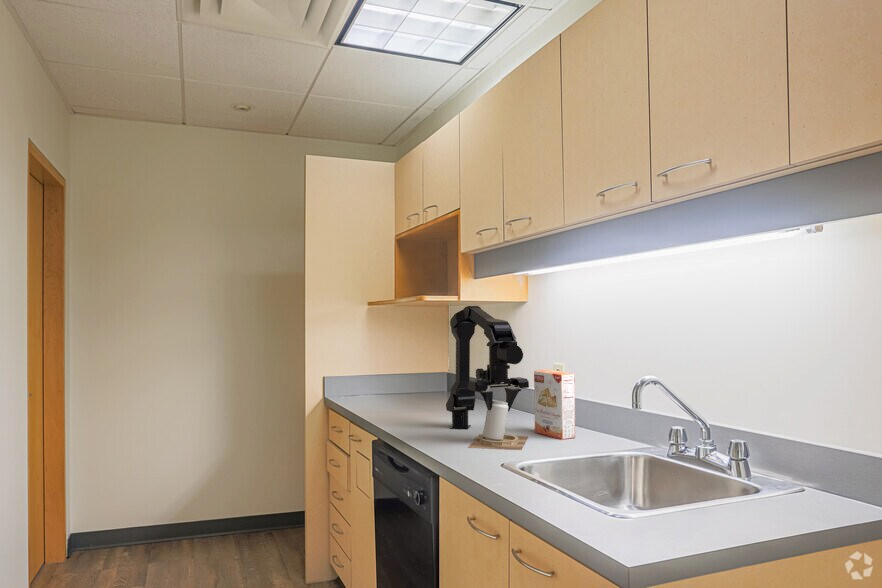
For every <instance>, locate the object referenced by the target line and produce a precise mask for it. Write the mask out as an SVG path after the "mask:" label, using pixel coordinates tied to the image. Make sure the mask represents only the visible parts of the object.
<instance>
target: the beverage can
mask: <svg viewBox="0 0 882 588" xmlns="http://www.w3.org/2000/svg"><path fill="white" fill-rule="evenodd" d="M508 408H509V407H508V403H507V402H506V401H503V400H499V399H498V400H497V399H493V400H492V408H491V410H490V411H489V410H488V409H487V408H486V409H487V410H486V413H485V414H486V415H485V421H484V425H483V430H482V431H483V432H482V434H483V436H484V437H485V439H487V440H491V441H501V440H503V437H504V434H505V430H506V424H507V418H508V413H509V412H508Z"/></svg>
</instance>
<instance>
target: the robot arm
mask: <svg viewBox="0 0 882 588" xmlns="http://www.w3.org/2000/svg"><path fill="white" fill-rule="evenodd" d="M449 325H450V331H451V334H452V335H453V337H454V339H455V381H454V383H453V384H452V386H451V388H450V395H449V396H448V399H447V401H446V403H445V410H446V411H447V412H450V413H451V426H450V427H449V429H450V430H469V429H470V428H471V427H472V426H471V424H469V411H474V410H475V405H476V392H477V393H479V394H480V395H481V396H482V399H483V401H484V403H485V406H486V409H488V410H489V411H490V410H491V408H492V400H494V398H493V397H494V391H493V390H492V391H491V389H492V388H504V390H505V393H506V394H505V397H506V398H505V399H506V400H505V402H507V403H508V407H509V408H508V413H509V412H510V410H511V408H512V406H513V404H514V401H515V399H516V398H517V396H518V394H519V392H522V389H529V388H530V381H529V380H528V378H525V377H520V376H519V377H510V378H509V371H508V370H510V369H511V367H510V366H511V365H518V364H520V363H521V362H522V360H523V359H524V352H523V349H522V348H521V347H520V346H519V345H518V341H517V340H516V339H517V337H516V336H515V333H514V331H513V329H512V327H511V324H510V322H508V321H507V320H504V319H499V318H494V317H493V316H492V315H490V314H489V313H487V312H486V311H485V310H484V309H482V307H481V306H479V305H467V306H465V307H463V309H462V310H460V311H458V312H456V313H454V314H453V316H452V317H451V318H450V321H449ZM477 325H478V326H479V327H480V328H481V329H483V334H484V336H485V337H486V338H487V340H488V342H487V343H486V347H488V358H489V359H488V360H489V361H488V362H489V363H488V364H487V365H486V369H484V368H476V369H475V378H476V379H475V380H474V379H473V380H470V379H471V377H470V376H471V374H470V372H471V370H470V369H471V367H470V363H471V362H470V361H471V339H472V338H473V336H474V334H475V333H476V327H477ZM510 364H511V365H510Z"/></svg>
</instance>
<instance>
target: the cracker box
mask: <svg viewBox="0 0 882 588" xmlns="http://www.w3.org/2000/svg"><path fill="white" fill-rule="evenodd" d="M575 381H576V380H575V373H573V372H565V371H559V370H553V369H536V370H534V371H533V387H534V388H533V389H534V390H533V391H534V393H533V394H534V433H536V434H540V435H544V436H547V437H551V438H554V439H558V440H561V441H563V440H570V439H575V438H576V399H575V398H576V396H575V395H576V394H575V393H576V392H575V390H576V388H575V387H576V386H575V385H576V384H575Z"/></svg>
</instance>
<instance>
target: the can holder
mask: <svg viewBox="0 0 882 588" xmlns="http://www.w3.org/2000/svg"><path fill="white" fill-rule="evenodd" d="M528 439H529V435H513V434H508V433H504V437H503V440H501V441H491V440H487V439H485V437H484V436H483V433H482V434H480V433H479V434H478V435H477V436H476V437H475V438H474V439H473V441H472V442H471V443H470V444H469V445H468V447H467V449H485V450H486V449H487V450H504V451H505V450H506V451H507V450H508V451H509V450H510V451H522V450H523V448H524V447H525V445H526V442H527V441H528Z"/></svg>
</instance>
